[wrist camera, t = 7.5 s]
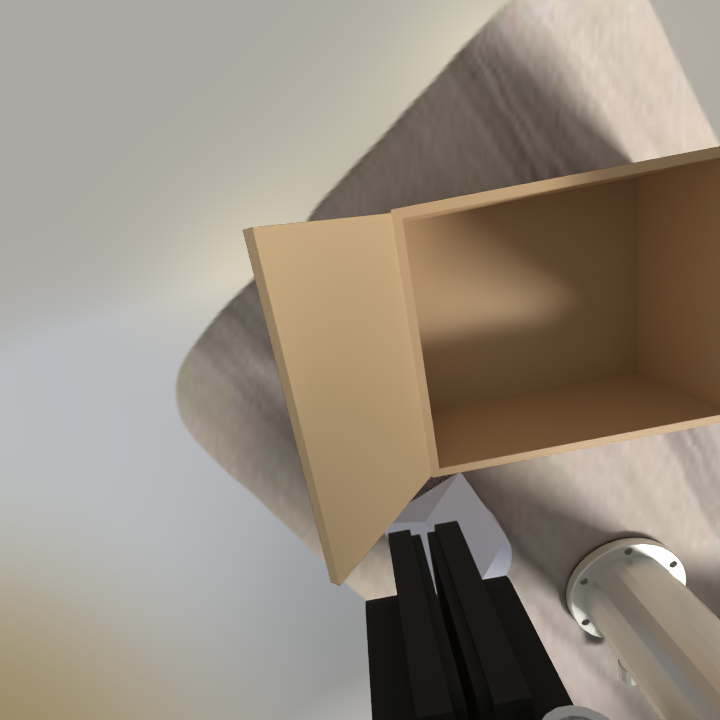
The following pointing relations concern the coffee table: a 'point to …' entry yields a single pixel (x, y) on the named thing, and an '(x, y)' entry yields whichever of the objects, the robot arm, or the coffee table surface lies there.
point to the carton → (565, 311)
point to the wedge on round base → (474, 520)
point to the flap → (344, 373)
